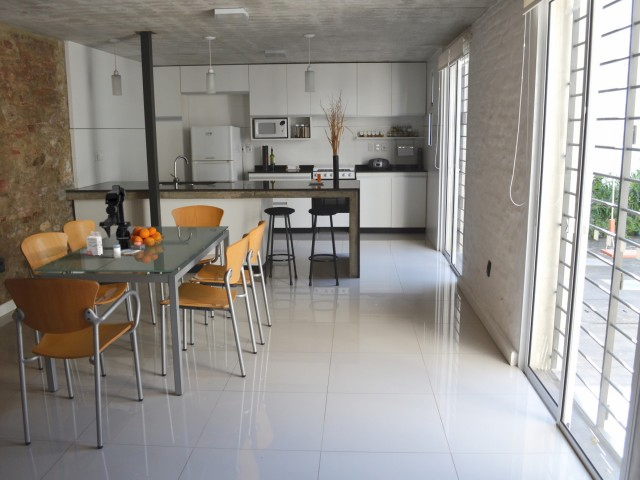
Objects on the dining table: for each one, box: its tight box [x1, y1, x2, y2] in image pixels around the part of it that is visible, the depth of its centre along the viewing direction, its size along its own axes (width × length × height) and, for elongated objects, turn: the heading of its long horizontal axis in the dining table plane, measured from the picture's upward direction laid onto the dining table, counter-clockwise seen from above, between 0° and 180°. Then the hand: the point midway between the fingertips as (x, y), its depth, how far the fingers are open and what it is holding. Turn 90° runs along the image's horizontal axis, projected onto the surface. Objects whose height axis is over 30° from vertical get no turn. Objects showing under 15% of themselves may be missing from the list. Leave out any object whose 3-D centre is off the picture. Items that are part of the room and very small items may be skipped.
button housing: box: [130, 244, 146, 251], centre depth 398 cm, size 6×6×3 cm
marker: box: [112, 243, 122, 259], centre depth 375 cm, size 4×4×8 cm
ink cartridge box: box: [85, 230, 104, 256], centre depth 385 cm, size 9×5×15 cm, turn 71°
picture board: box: [112, 249, 145, 257], centre depth 387 cm, size 14×14×1 cm
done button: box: [133, 241, 142, 246], centre depth 397 cm, size 4×4×3 cm
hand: (116, 237), depth 373 cm, fingers open, 9 cm apart
